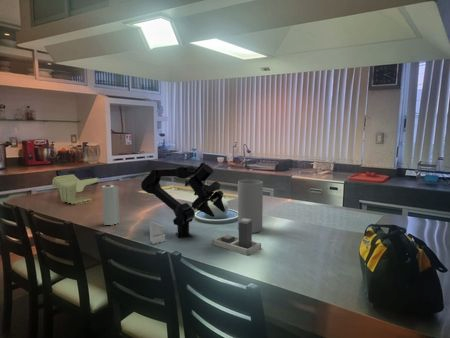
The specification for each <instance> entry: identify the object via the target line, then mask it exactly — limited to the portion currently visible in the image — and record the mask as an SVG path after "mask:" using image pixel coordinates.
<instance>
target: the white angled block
mask: <svg viewBox="0 0 450 338" xmlns="http://www.w3.org/2000/svg"><path fill="white" fill-rule="evenodd" d="M164 241H165V242H166V234H164V226H163V225H161V224H159V223H156V222H153V221H152V220H149V242H150V243H151V242H152V243H151V244H152V245H156V244H160V243H159V242H161V243H164ZM155 243H156V244H155Z"/></svg>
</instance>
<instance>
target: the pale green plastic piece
mask: <svg viewBox="0 0 450 338" xmlns="http://www.w3.org/2000/svg"><path fill="white" fill-rule="evenodd" d="M98 182H99V177H94V178H86V179H79V178H78V177H77V176H76V175H75V174H73V173H72V174H71V173H70V174H65V175H59V176H58V175H57V176H55V177H53V178H52V188H57V190H58V191H59V195H60V200H61V202H62V203H65V202H67V203H66V204H69V203H71V204H70V205H73V203H78V202H82V201H87V200H92V198H91V197H87V196H78V197H76V195H77V193H79V192H83V191H84V188H85V187H86V186H91V185H93V184H96V183H98Z"/></svg>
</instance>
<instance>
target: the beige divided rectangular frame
mask: <svg viewBox="0 0 450 338" xmlns="http://www.w3.org/2000/svg"><path fill="white" fill-rule="evenodd" d="M212 245H214V246H217V247H220V248H223V249H227V250H229V251H232V250H233V251H232V252H236V253H239V254H242V253H243V254H242V255H245V254H246V255H245V256H249V254H250V255H251V254H254V253H255V252H257V251H259V250H260V249H262V243H261V242H257V241H254V240H252V247H250V248H248V249H246V248H243V247H239V236H235V235H232V234H228V233H224V234H222V235H220V236H218V237H216V238H213V239H212Z"/></svg>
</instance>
